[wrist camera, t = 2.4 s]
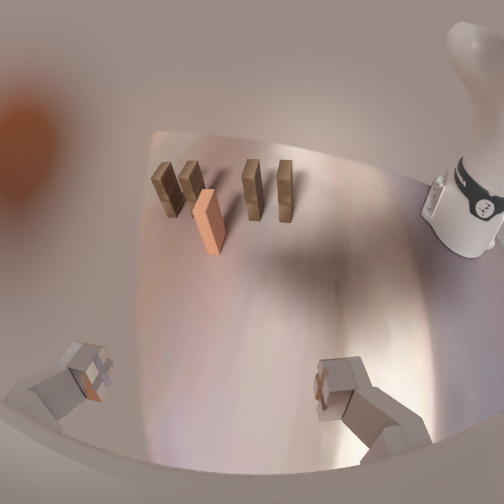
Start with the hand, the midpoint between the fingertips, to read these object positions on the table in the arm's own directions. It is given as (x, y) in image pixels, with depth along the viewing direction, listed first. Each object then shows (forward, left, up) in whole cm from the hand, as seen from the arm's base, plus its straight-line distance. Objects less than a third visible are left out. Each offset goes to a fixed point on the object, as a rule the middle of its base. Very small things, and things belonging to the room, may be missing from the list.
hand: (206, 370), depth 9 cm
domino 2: (-26, -28, -26) cm, 46 cm away
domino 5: (-31, -12, -26) cm, 42 cm away
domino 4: (-29, -17, -26) cm, 43 cm away
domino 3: (-20, -20, -26) cm, 38 cm away
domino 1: (-24, -33, -26) cm, 48 cm away
